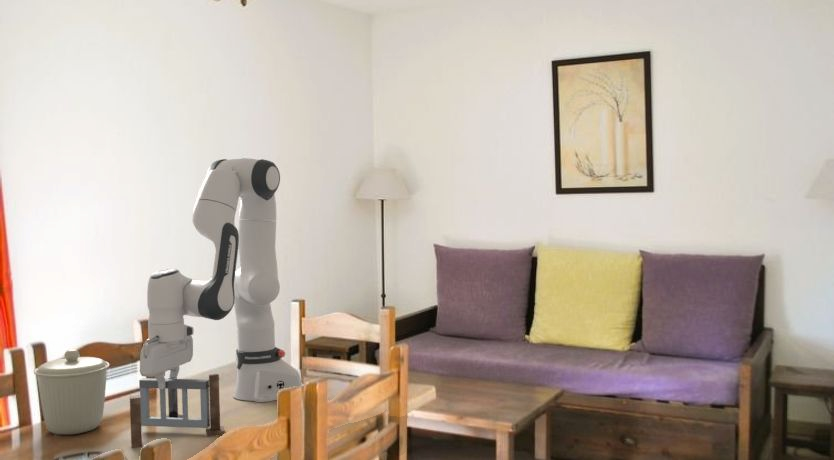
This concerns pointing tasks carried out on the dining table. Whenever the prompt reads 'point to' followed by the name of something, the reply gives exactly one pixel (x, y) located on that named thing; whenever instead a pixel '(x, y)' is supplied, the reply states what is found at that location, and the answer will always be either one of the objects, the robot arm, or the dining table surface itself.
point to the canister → (72, 393)
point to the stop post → (173, 404)
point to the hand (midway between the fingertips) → (167, 386)
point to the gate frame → (212, 431)
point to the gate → (184, 385)
